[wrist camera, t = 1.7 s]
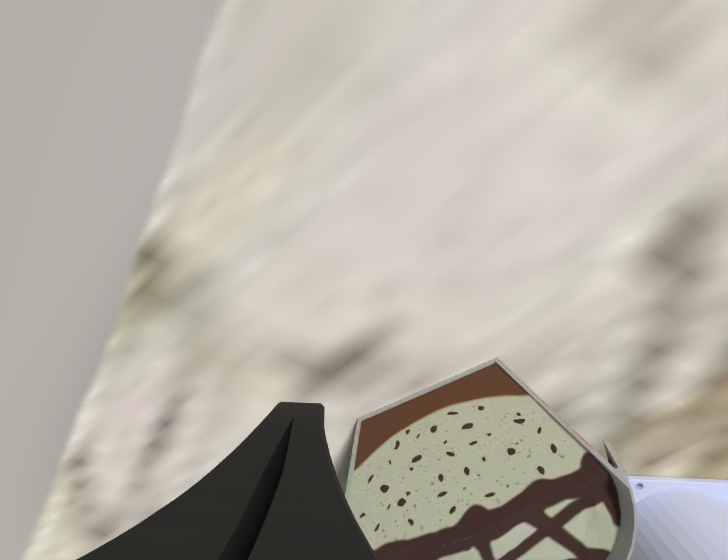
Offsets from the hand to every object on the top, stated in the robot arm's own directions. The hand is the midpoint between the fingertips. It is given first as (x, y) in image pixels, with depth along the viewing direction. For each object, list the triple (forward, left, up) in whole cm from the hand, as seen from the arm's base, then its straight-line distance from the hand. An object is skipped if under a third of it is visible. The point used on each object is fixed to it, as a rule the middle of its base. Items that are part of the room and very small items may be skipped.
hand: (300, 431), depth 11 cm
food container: (-7, +7, -11) cm, 15 cm away
